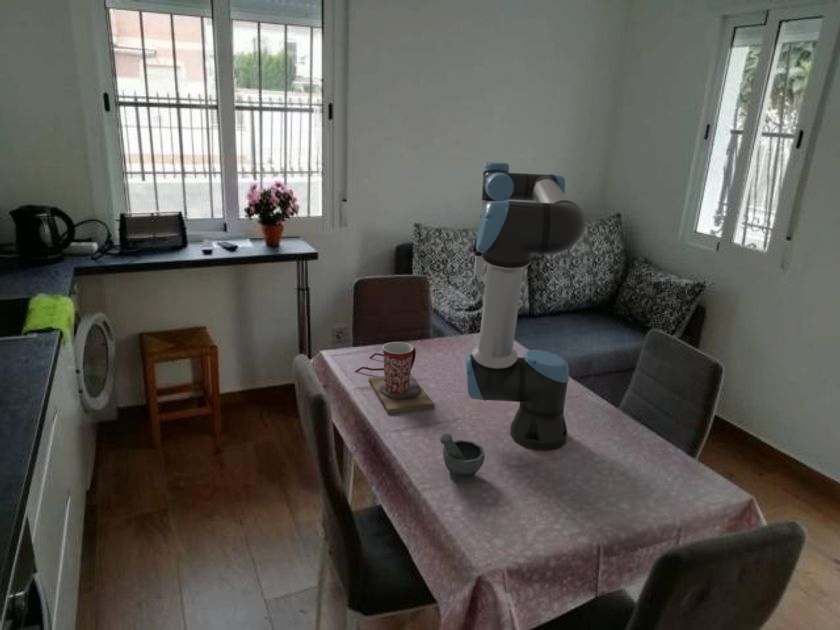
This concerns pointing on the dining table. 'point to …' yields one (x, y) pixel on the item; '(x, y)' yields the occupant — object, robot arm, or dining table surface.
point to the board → (401, 397)
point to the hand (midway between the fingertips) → (487, 281)
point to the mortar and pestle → (462, 458)
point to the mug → (398, 366)
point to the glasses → (371, 368)
